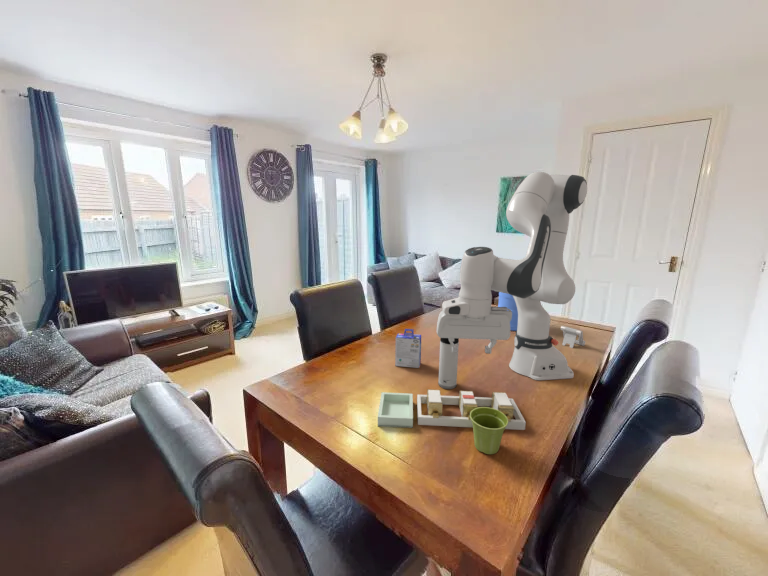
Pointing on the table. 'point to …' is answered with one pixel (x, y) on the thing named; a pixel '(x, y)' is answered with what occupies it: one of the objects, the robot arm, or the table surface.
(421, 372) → the table surface
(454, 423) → the clip rack
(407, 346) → the ink cartridge box
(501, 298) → the water jug
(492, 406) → the plain fuse
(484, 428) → the plant pot
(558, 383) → the table surface
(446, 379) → the travel mug
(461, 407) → the block
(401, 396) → the sage tray
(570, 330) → the portable electronic device stand
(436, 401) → the plain fuse
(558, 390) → the table surface
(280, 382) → the table surface
